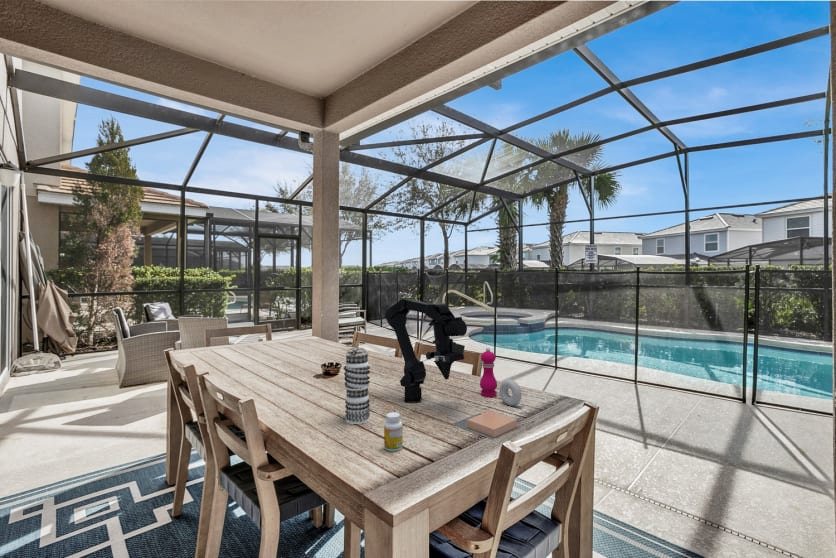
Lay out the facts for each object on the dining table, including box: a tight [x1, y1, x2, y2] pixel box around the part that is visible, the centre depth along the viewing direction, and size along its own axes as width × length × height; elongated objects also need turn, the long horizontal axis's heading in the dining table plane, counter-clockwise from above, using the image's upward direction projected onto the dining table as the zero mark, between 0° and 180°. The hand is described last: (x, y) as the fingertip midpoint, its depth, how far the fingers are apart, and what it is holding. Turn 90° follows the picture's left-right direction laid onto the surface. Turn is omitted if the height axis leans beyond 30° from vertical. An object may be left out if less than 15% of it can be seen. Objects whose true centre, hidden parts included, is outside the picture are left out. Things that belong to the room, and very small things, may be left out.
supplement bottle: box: [383, 411, 404, 452], centre depth 111 cm, size 5×5×10 cm
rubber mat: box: [452, 412, 521, 441], centre depth 126 cm, size 17×15×1 cm
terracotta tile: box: [467, 410, 518, 438], centre depth 124 cm, size 3×12×11 cm
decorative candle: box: [343, 347, 371, 425], centre depth 133 cm, size 9×9×25 cm
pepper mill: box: [479, 347, 498, 398], centre depth 159 cm, size 7×7×20 cm
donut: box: [499, 378, 523, 407], centre depth 146 cm, size 10×4×10 cm, turn 34°
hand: (446, 379), depth 141 cm, fingers closed
